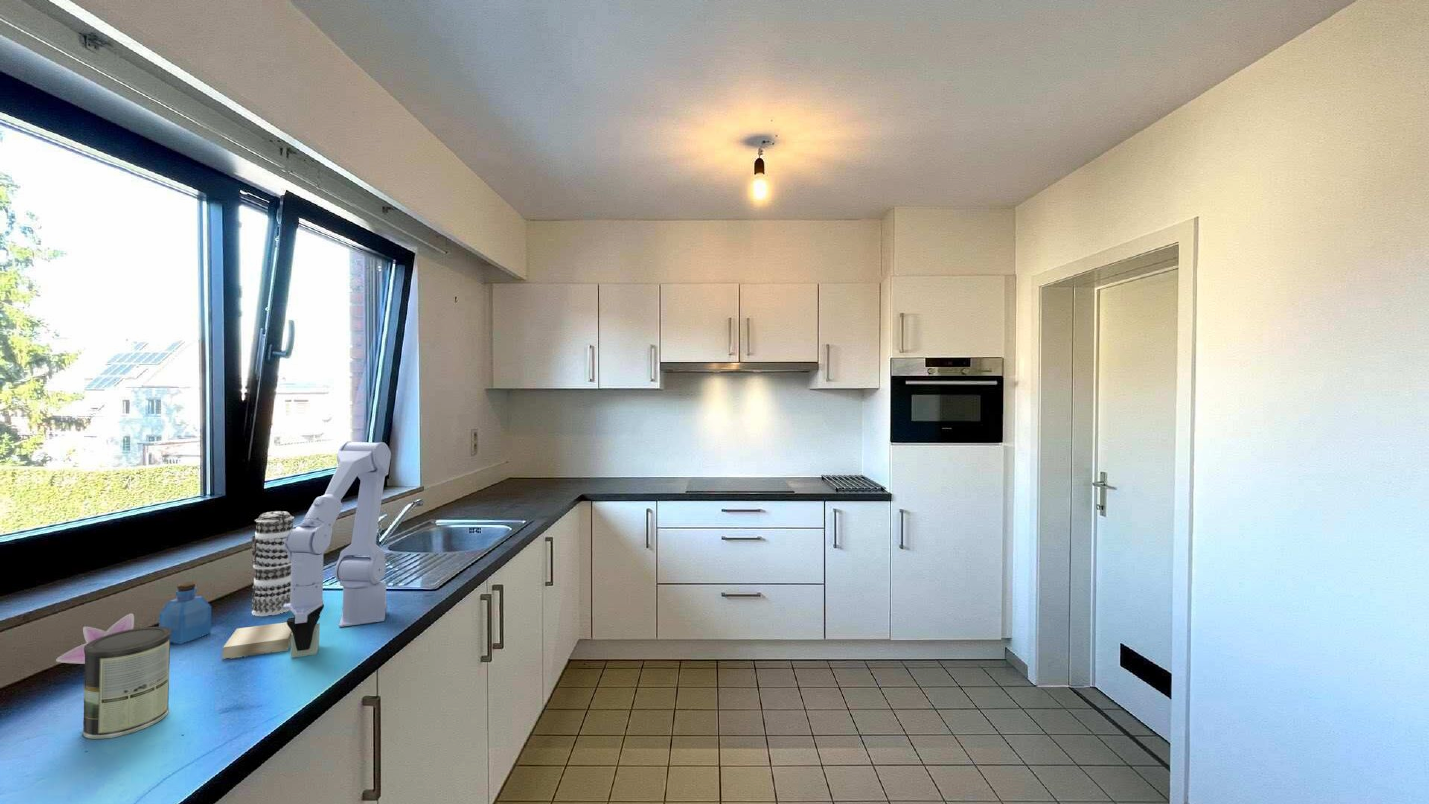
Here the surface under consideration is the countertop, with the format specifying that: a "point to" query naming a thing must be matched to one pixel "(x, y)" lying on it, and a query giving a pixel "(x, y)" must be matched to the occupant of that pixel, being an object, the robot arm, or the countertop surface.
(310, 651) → the sage block
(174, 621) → the perfume bottle
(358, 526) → the robot arm
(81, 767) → the countertop surface
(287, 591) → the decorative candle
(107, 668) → the coffee can
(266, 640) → the birch slab
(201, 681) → the countertop surface
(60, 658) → the lily
